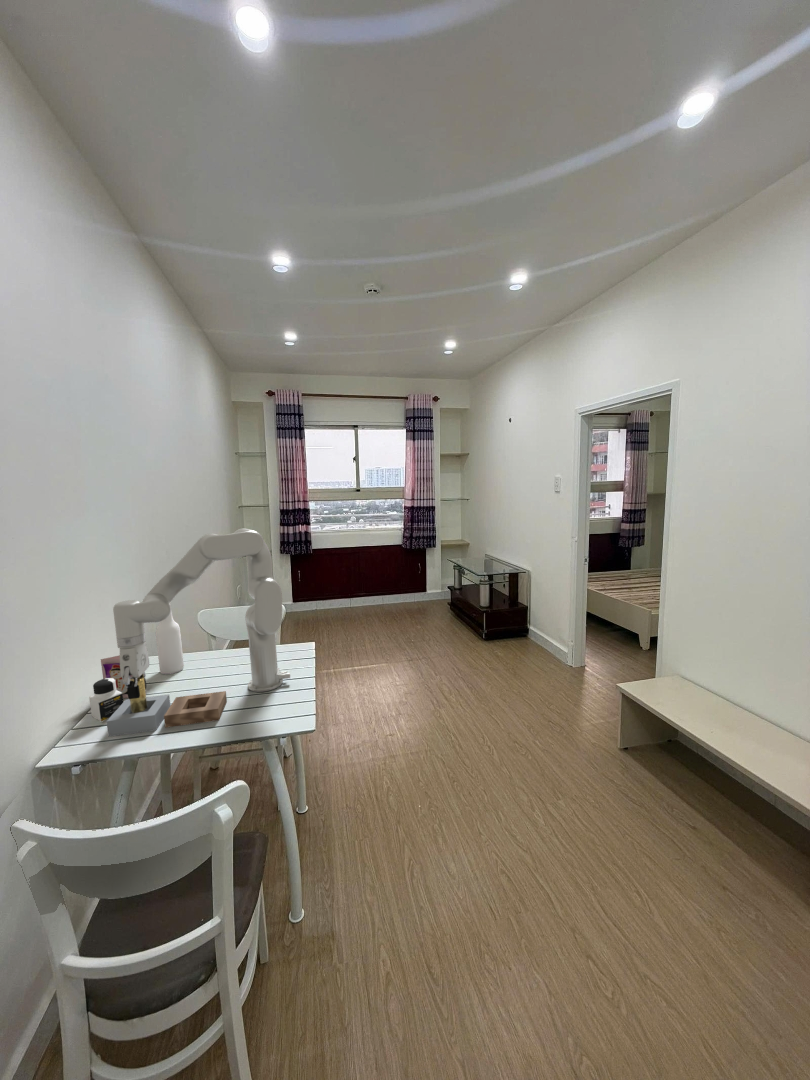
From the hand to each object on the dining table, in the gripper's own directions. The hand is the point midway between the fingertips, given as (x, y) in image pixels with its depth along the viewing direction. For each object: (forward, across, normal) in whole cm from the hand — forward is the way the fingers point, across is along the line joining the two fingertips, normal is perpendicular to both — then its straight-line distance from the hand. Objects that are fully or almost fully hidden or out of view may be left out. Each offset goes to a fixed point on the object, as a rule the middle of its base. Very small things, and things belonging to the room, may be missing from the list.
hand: (137, 693), depth 134 cm
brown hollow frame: (+10, 0, -17) cm, 20 cm away
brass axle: (+5, 0, 0) cm, 5 cm away
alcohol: (+10, +40, +3) cm, 41 cm away
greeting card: (+10, +22, +13) cm, 27 cm away
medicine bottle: (+10, +8, +13) cm, 18 cm away
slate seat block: (+10, 0, 0) cm, 10 cm away
